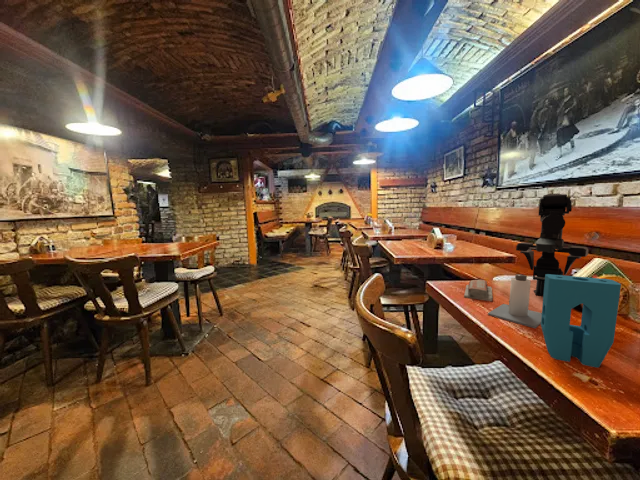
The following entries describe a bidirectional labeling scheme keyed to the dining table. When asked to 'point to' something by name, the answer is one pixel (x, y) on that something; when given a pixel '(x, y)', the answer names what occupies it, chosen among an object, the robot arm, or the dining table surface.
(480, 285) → the packaged product
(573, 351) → the block
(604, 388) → the dining table surface
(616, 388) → the dining table surface
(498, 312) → the felt mat
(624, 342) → the dining table surface
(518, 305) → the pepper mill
